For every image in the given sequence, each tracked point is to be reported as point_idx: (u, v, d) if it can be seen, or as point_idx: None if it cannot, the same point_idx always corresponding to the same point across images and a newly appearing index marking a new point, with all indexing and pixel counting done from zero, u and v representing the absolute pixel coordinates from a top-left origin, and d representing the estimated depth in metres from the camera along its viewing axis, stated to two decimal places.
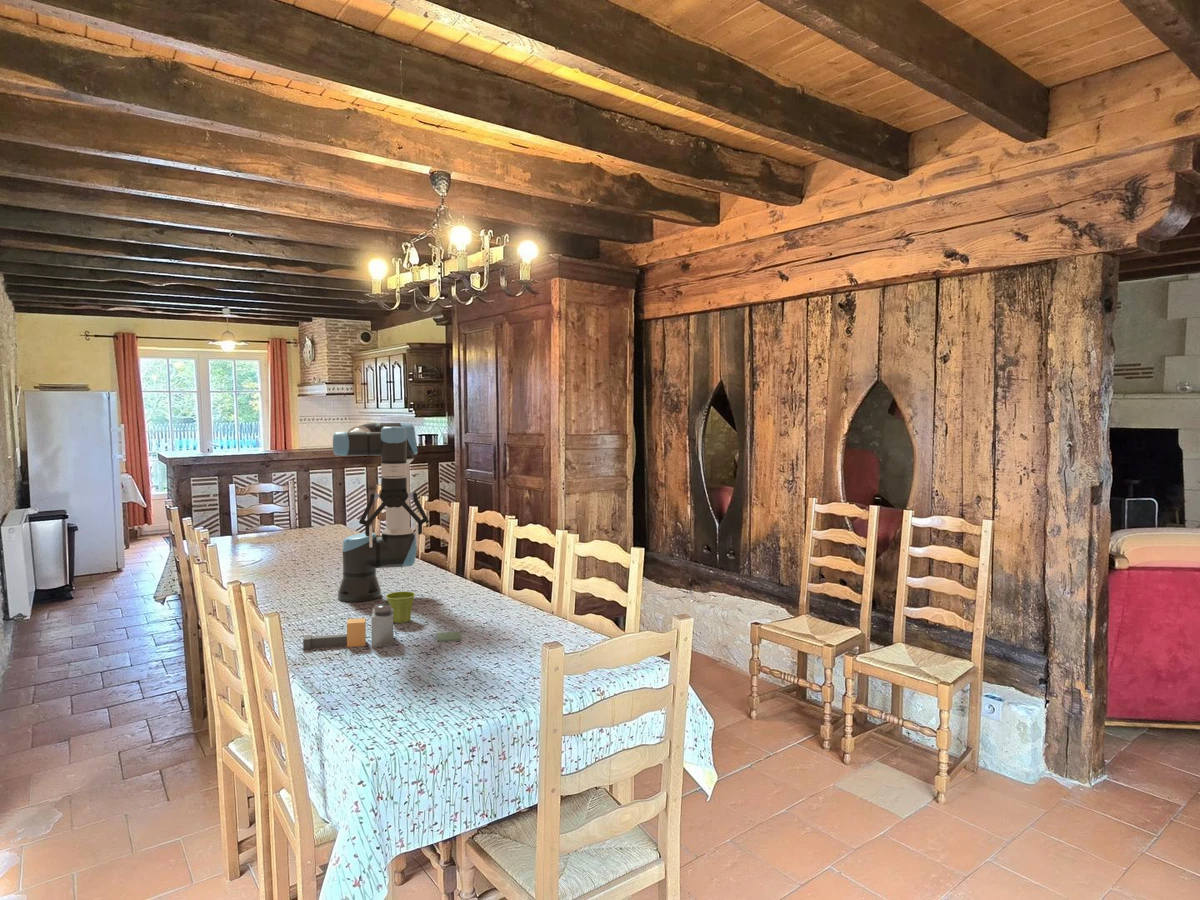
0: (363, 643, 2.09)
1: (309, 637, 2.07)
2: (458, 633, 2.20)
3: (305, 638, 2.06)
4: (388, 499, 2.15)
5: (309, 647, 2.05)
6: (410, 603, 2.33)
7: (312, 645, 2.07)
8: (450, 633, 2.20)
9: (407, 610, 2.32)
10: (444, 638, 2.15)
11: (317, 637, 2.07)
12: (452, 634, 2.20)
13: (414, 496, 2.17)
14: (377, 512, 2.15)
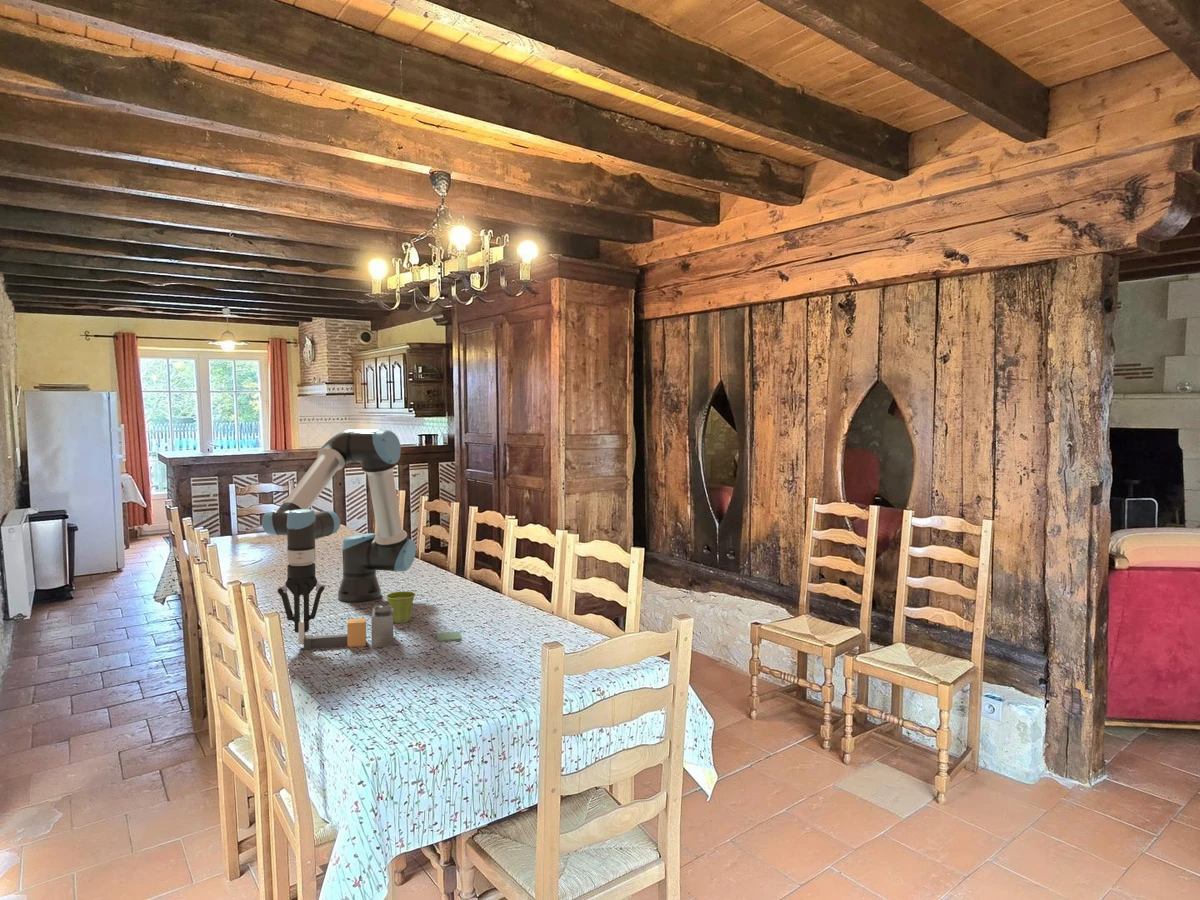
0: (363, 643, 2.09)
1: (309, 637, 2.07)
2: (458, 633, 2.20)
3: (305, 638, 2.06)
4: (295, 588, 2.04)
5: (309, 647, 2.06)
6: (410, 603, 2.33)
7: (312, 645, 2.07)
8: (450, 633, 2.20)
9: (407, 610, 2.32)
10: (444, 638, 2.15)
11: (317, 637, 2.07)
12: (452, 634, 2.20)
13: (320, 589, 2.06)
14: (296, 604, 2.05)
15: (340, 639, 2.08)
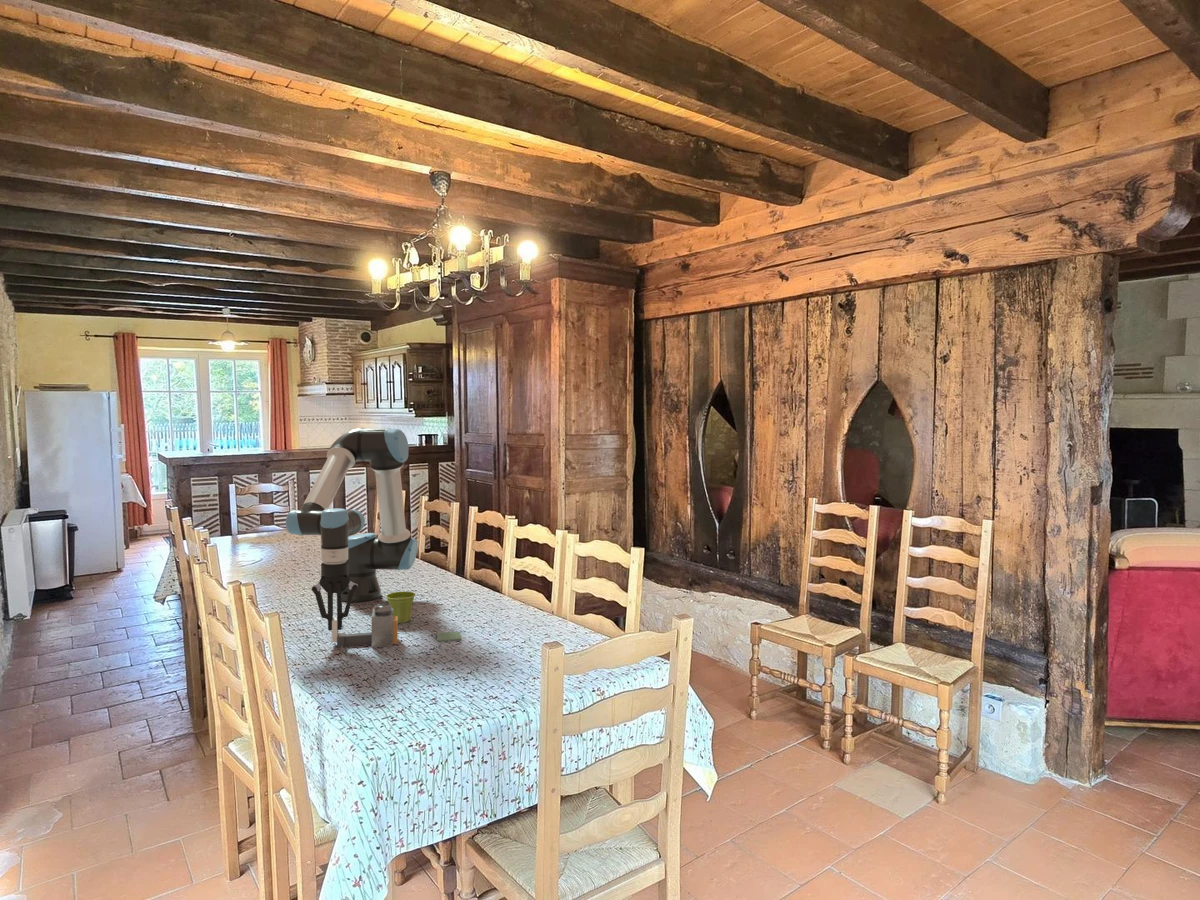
0: (395, 641, 2.11)
1: (342, 635, 2.09)
2: (458, 633, 2.20)
3: (339, 636, 2.08)
4: (329, 586, 2.06)
5: (343, 645, 2.08)
6: (410, 603, 2.33)
7: (345, 643, 2.09)
8: (450, 633, 2.20)
9: (407, 610, 2.32)
10: (444, 638, 2.15)
11: (350, 635, 2.10)
12: (452, 634, 2.20)
13: (353, 588, 2.08)
14: (329, 603, 2.07)
15: None
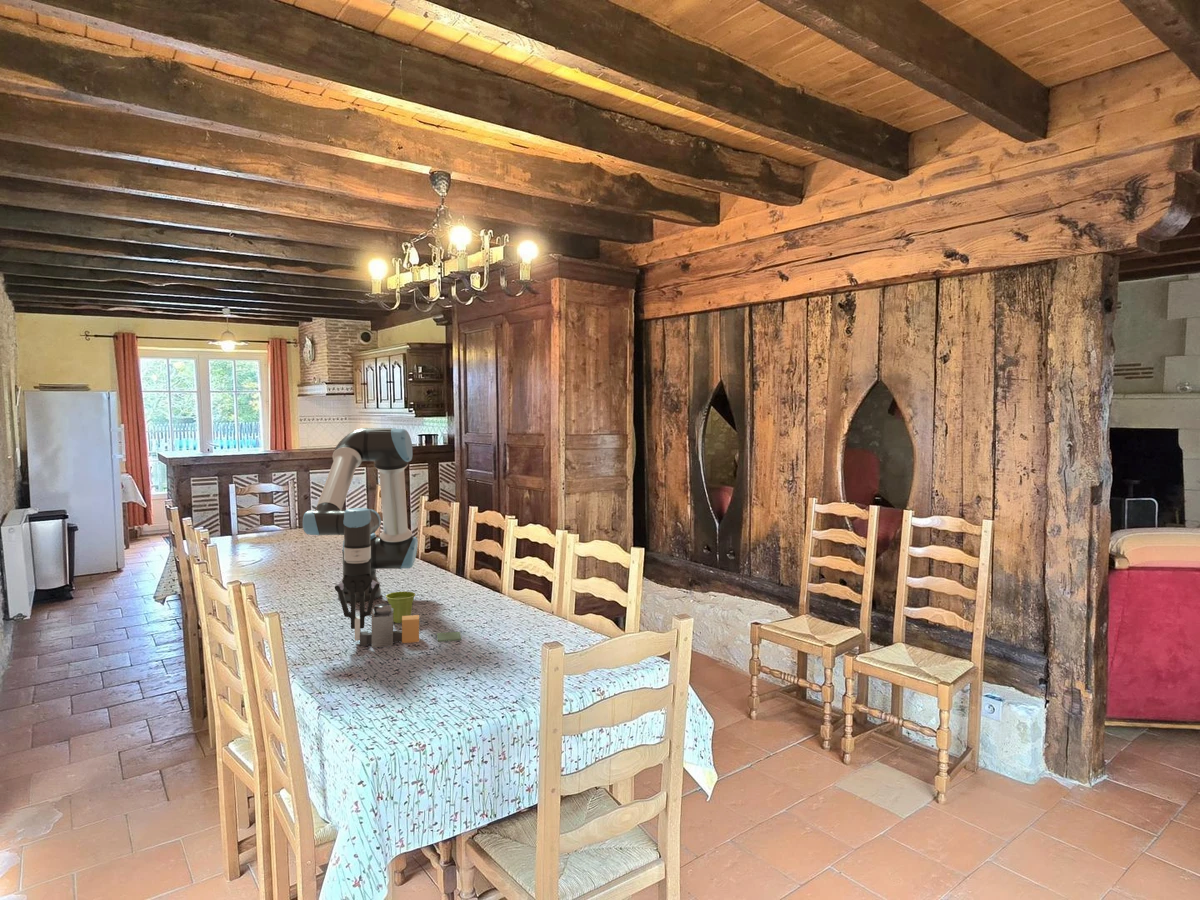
0: (417, 639, 2.13)
1: (365, 633, 2.11)
2: (458, 633, 2.20)
3: (361, 634, 2.10)
4: (352, 585, 2.08)
5: (365, 643, 2.09)
6: (410, 603, 2.33)
7: (368, 641, 2.11)
8: (450, 633, 2.20)
9: (407, 610, 2.32)
10: (444, 638, 2.15)
11: None
12: (452, 634, 2.20)
13: (375, 586, 2.10)
14: (352, 601, 2.09)
15: (395, 635, 2.12)
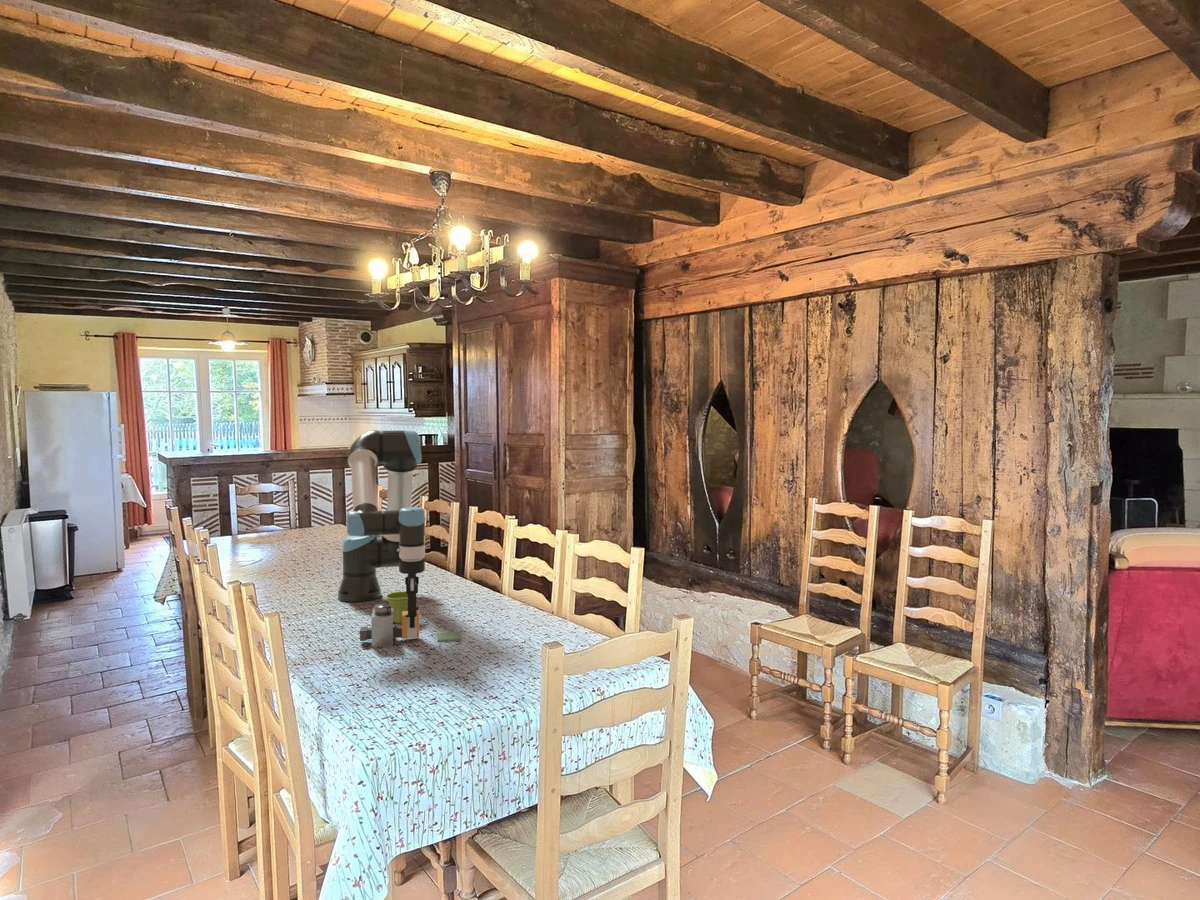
0: (417, 635, 2.13)
1: (365, 629, 2.11)
2: (458, 633, 2.20)
3: (361, 630, 2.10)
4: None
5: (365, 638, 2.10)
6: None
7: (368, 636, 2.11)
8: (450, 633, 2.20)
9: (407, 610, 2.32)
10: (444, 638, 2.15)
11: None
12: (452, 634, 2.20)
13: (408, 587, 2.08)
14: None
15: (395, 631, 2.13)
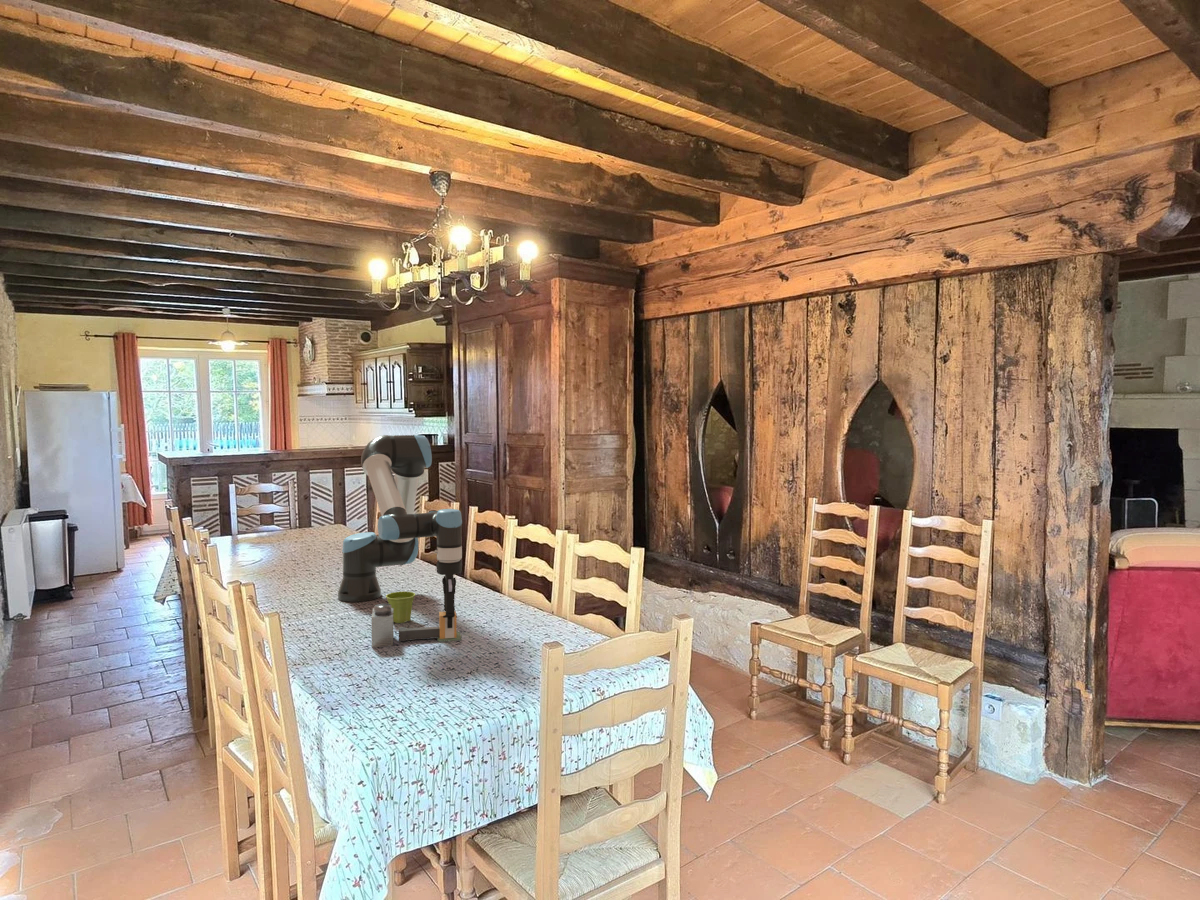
0: (455, 635, 2.16)
1: (403, 629, 2.14)
2: (458, 633, 2.20)
3: (400, 630, 2.13)
4: (442, 581, 2.18)
5: (404, 639, 2.12)
6: (410, 603, 2.33)
7: (406, 637, 2.13)
8: None
9: (407, 610, 2.32)
10: (444, 638, 2.15)
11: (411, 629, 2.14)
12: None
13: (446, 588, 2.11)
14: None
15: (432, 631, 2.15)
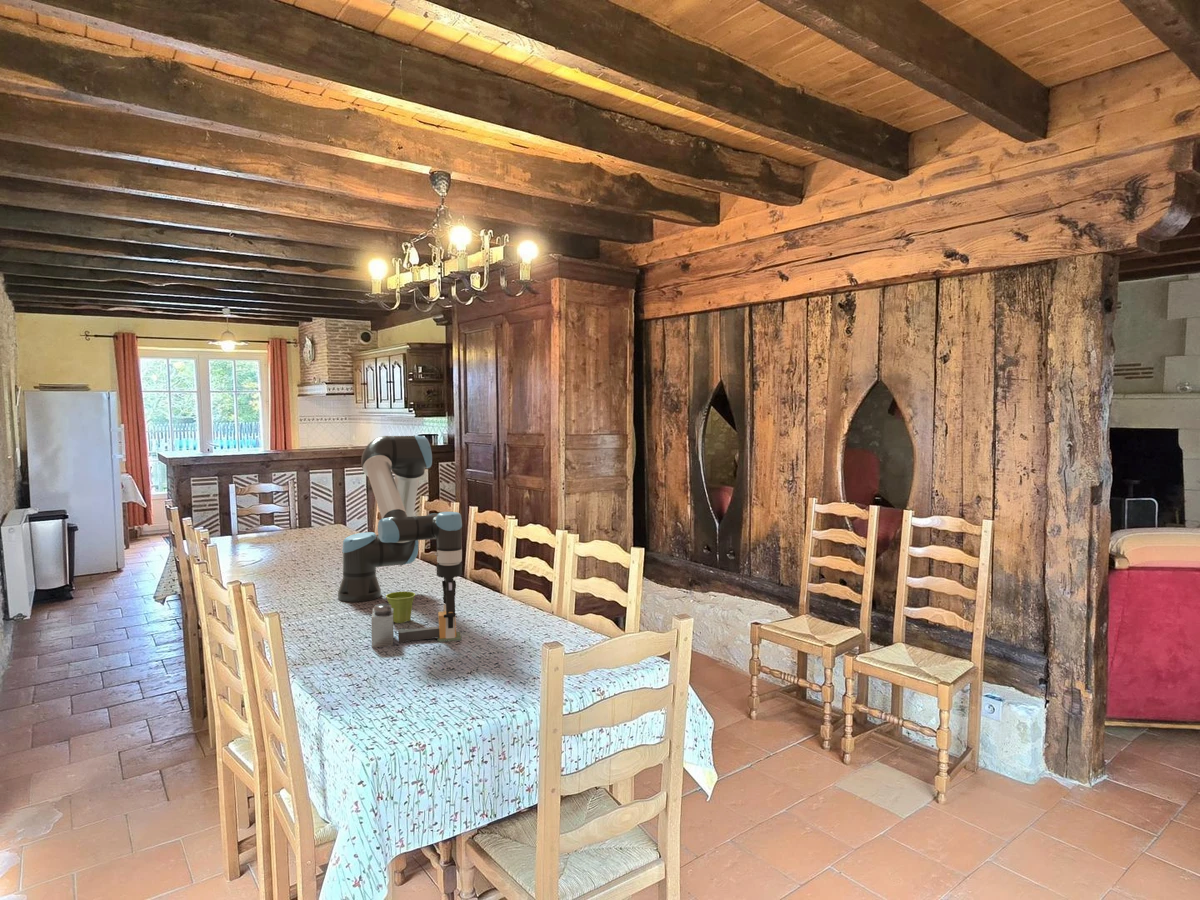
0: (455, 634, 2.16)
1: (403, 630, 2.14)
2: (458, 633, 2.20)
3: (400, 632, 2.13)
4: (442, 583, 2.18)
5: (404, 640, 2.12)
6: (410, 603, 2.33)
7: (406, 638, 2.14)
8: None
9: (407, 610, 2.32)
10: (444, 638, 2.15)
11: (410, 630, 2.14)
12: None
13: (446, 587, 2.11)
14: None
15: (432, 631, 2.15)
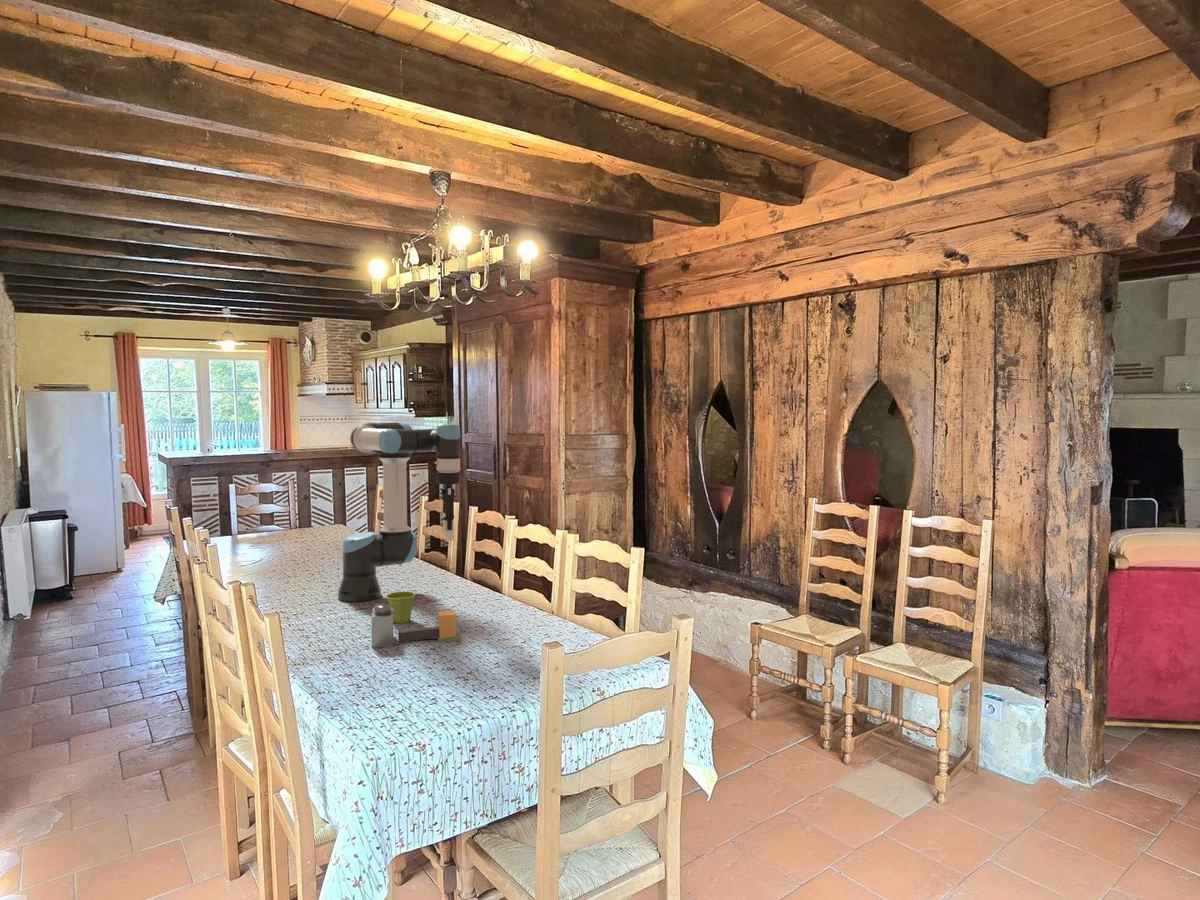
0: (455, 634, 2.16)
1: (403, 630, 2.14)
2: (458, 633, 2.20)
3: (400, 632, 2.13)
4: None
5: (404, 640, 2.12)
6: (410, 603, 2.33)
7: (406, 638, 2.14)
8: None
9: (407, 610, 2.32)
10: (444, 638, 2.15)
11: (410, 630, 2.14)
12: None
13: (445, 491, 2.24)
14: (443, 502, 2.35)
15: (432, 631, 2.15)
